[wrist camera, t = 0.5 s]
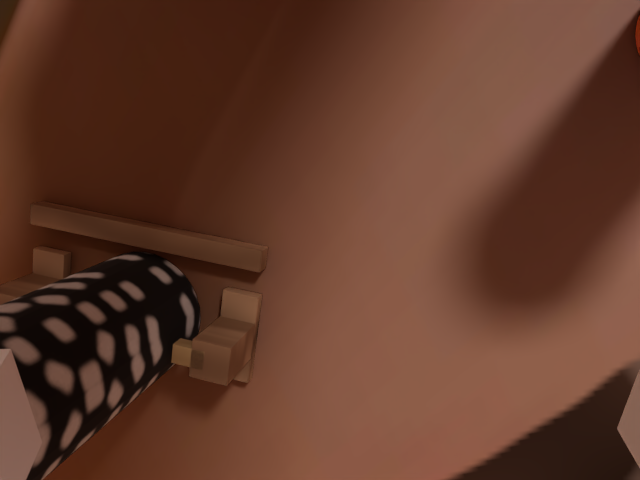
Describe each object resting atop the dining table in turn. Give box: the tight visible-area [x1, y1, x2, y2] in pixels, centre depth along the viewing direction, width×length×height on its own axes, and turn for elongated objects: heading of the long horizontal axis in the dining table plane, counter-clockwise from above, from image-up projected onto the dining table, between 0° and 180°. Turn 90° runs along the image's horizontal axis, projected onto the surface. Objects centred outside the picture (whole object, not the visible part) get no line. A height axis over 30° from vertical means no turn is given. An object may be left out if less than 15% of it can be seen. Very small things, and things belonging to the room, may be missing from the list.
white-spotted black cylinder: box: [0, 252, 200, 480], centre depth 32 cm, size 8×8×20 cm
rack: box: [0, 201, 268, 386], centre depth 39 cm, size 9×16×5 cm, turn 81°
